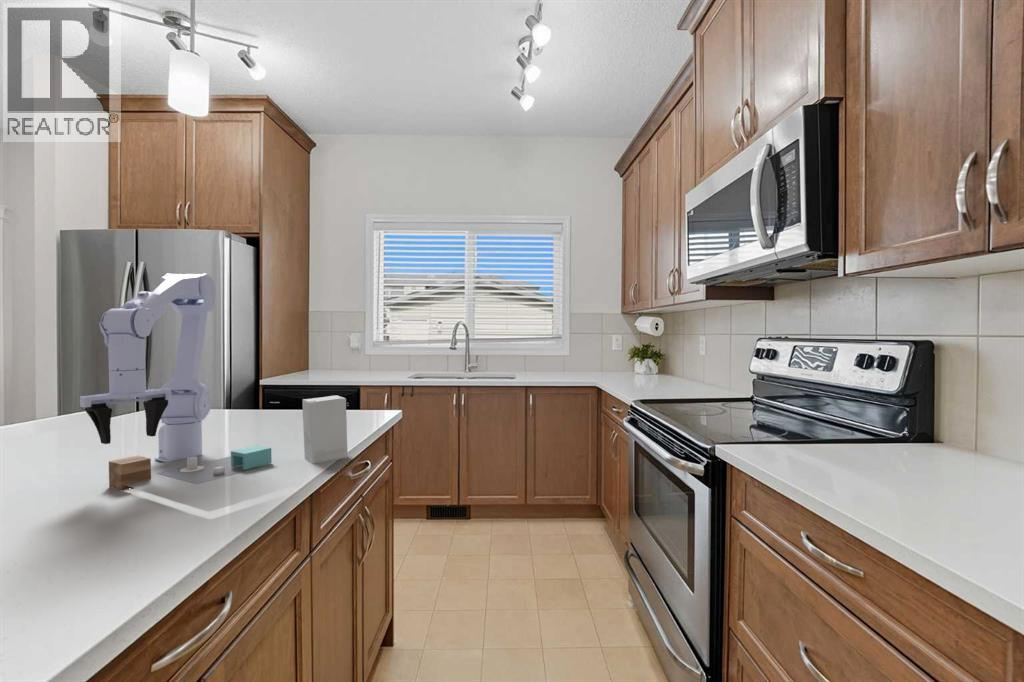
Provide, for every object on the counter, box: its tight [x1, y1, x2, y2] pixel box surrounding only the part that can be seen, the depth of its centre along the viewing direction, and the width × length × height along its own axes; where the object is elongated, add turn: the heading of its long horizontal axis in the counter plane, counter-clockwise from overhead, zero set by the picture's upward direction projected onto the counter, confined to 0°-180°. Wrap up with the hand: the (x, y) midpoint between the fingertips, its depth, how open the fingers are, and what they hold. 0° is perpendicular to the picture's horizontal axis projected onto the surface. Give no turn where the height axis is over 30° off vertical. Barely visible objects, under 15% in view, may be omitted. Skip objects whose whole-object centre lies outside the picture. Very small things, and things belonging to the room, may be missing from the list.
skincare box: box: [302, 395, 349, 465], centre depth 114 cm, size 8×6×15 cm
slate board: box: [156, 455, 274, 485], centre depth 106 cm, size 15×16×4 cm
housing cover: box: [230, 445, 273, 470], centre depth 108 cm, size 5×6×3 cm
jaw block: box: [108, 455, 152, 491], centre depth 98 cm, size 5×5×5 cm
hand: (129, 439), depth 98 cm, fingers open, 7 cm apart
